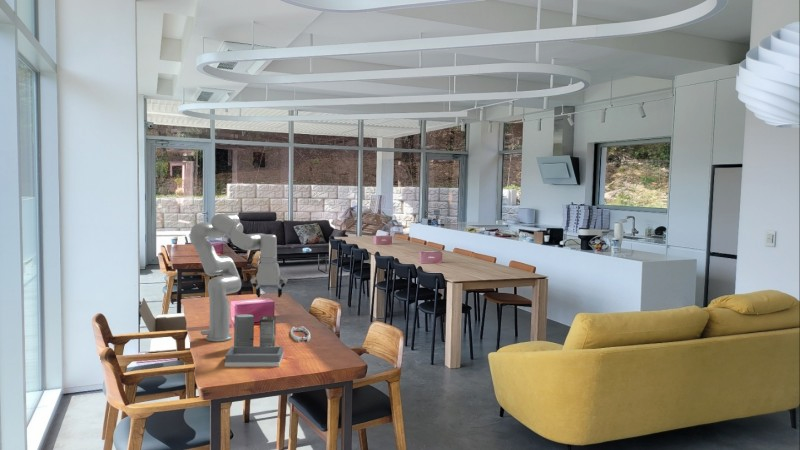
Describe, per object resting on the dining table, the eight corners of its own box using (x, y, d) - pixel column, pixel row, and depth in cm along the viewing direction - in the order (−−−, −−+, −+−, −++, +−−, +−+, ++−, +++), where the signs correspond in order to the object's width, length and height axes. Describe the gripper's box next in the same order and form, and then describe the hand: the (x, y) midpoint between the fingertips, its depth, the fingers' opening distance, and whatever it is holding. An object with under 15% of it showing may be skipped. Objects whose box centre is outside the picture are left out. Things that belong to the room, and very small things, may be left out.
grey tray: (224, 366, 241) (224, 356, 241) (232, 355, 257) (232, 345, 257) (279, 366, 244) (279, 356, 243) (283, 355, 259) (283, 345, 259)
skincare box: (236, 350, 264) (236, 317, 263) (233, 346, 271) (233, 314, 270) (254, 348, 268) (254, 316, 267) (251, 344, 275) (251, 312, 273)
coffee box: (262, 348, 269) (262, 315, 268) (275, 348, 269) (276, 315, 268) (259, 354, 260) (259, 320, 259) (273, 354, 260) (273, 320, 259)
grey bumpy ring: (306, 329, 307) (313, 342, 283) (288, 330, 304) (293, 343, 280) (306, 325, 307) (313, 337, 283) (288, 325, 304) (293, 338, 280)
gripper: (248, 261, 260) (248, 298, 261) (285, 261, 261) (286, 298, 262) (252, 259, 268) (252, 295, 269) (288, 259, 268) (289, 295, 269)
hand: (269, 296), depth 265 cm, fingers open, 9 cm apart
